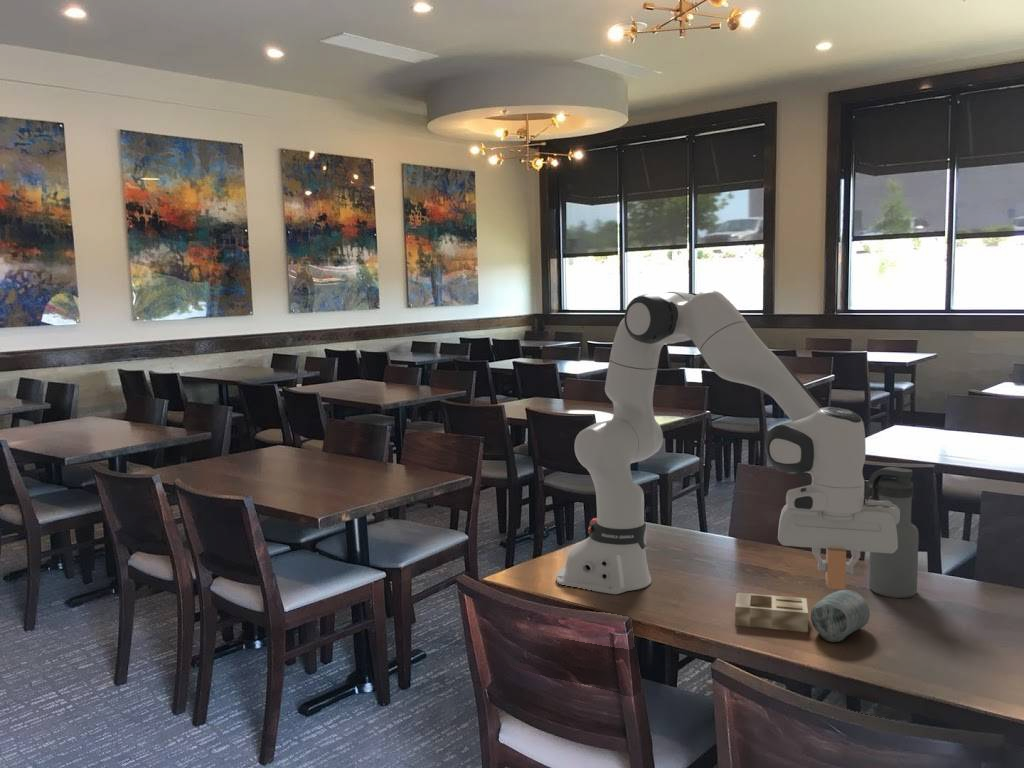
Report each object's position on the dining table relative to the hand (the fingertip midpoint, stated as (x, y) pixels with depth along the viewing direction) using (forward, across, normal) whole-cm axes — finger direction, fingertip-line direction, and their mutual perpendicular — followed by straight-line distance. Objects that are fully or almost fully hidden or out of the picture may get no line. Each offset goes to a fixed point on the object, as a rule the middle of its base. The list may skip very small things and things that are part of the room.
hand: (835, 571), depth 147 cm
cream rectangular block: (+17, +11, -15) cm, 25 cm away
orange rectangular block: (+2, 0, 0) cm, 2 cm away
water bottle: (+17, -15, -39) cm, 45 cm away
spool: (+17, -2, -12) cm, 21 cm away
